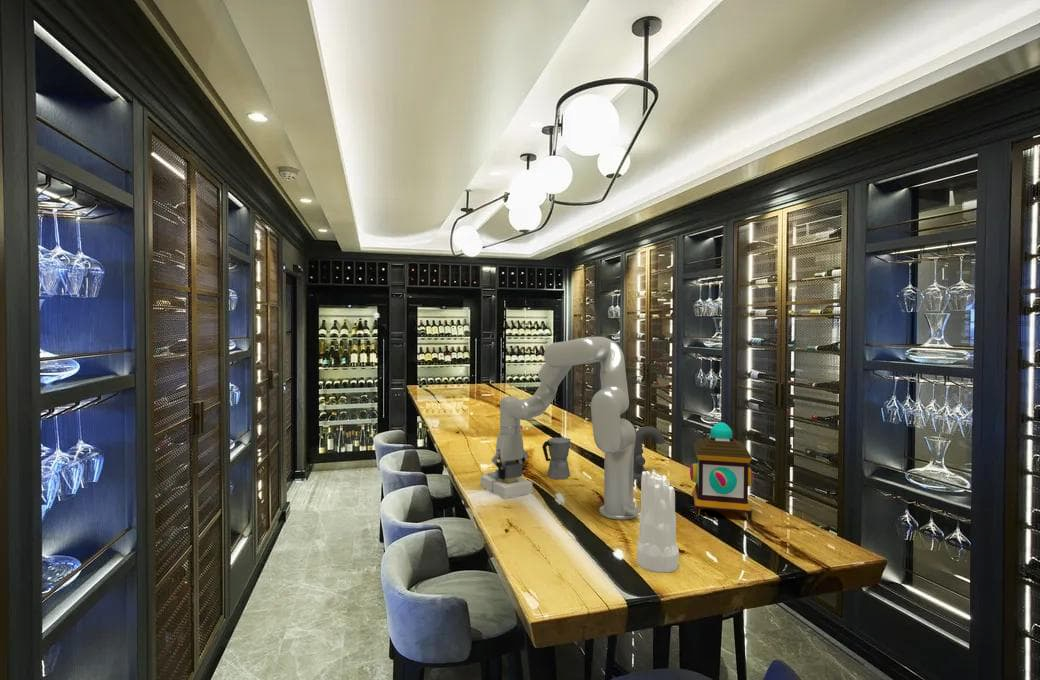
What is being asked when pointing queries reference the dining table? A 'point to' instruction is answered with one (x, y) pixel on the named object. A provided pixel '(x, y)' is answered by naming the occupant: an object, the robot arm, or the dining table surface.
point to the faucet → (638, 450)
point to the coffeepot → (557, 457)
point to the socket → (506, 486)
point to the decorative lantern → (721, 473)
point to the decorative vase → (657, 525)
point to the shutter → (494, 474)
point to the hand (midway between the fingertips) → (510, 476)
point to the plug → (512, 471)
